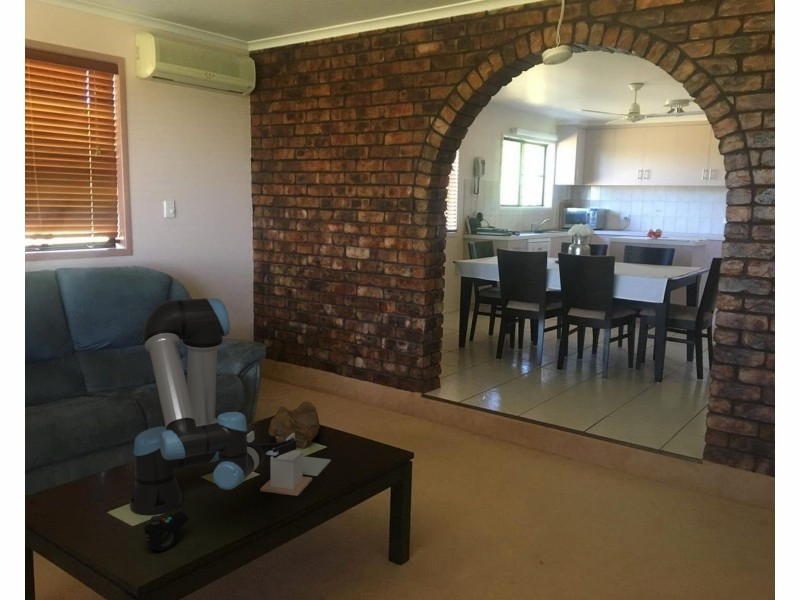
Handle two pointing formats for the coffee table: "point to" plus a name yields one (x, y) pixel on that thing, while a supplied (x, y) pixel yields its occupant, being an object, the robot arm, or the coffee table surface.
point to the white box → (287, 470)
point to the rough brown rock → (296, 424)
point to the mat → (314, 465)
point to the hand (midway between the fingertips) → (273, 436)
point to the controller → (164, 530)
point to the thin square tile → (295, 491)
